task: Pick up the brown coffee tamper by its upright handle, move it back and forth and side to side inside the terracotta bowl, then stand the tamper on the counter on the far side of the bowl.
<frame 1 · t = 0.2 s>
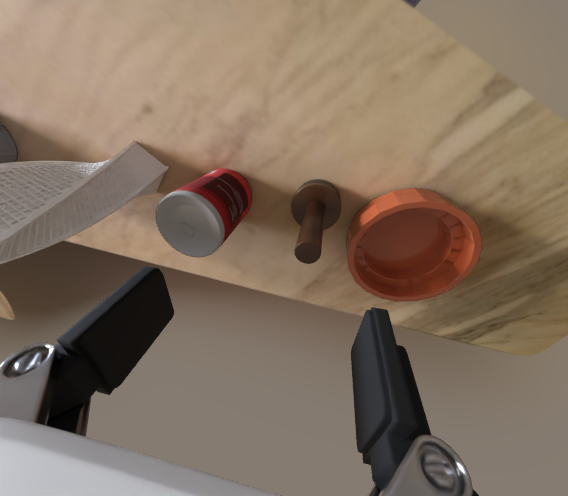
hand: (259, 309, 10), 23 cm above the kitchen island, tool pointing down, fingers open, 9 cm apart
bowl: (399, 238, 32), on the kitchen island
brown coffee tamper: (316, 202, 31), on the kitchen island
skyscraper: (148, 169, 34), on the kitchen island
canned food: (229, 194, 33), on the kitchen island
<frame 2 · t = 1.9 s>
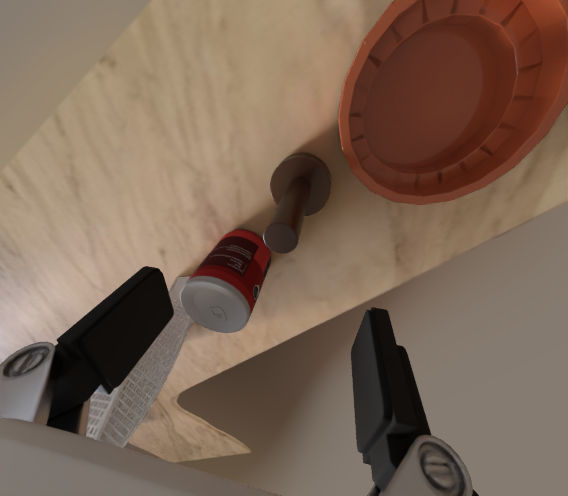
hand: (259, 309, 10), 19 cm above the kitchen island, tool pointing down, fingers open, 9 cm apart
bowl: (421, 106, 20), on the kitchen island
brown coffee tamper: (302, 182, 26), on the kitchen island
skyscraper: (198, 286, 39), on the kitchen island
canned food: (247, 251, 33), on the kitchen island
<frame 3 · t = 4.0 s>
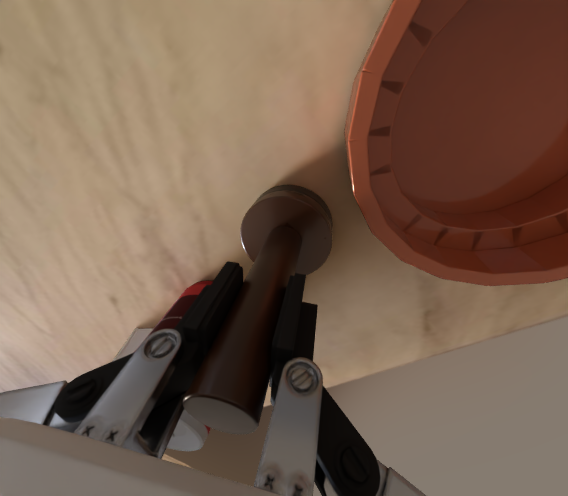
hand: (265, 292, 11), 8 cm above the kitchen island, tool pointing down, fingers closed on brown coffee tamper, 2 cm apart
bowl: (487, 117, 12), on the kitchen island
brown coffee tamper: (290, 225, 17), on the kitchen island, touching gripper
skyscraper: (163, 339, 30), on the kitchen island
canned food: (220, 305, 24), on the kitchen island
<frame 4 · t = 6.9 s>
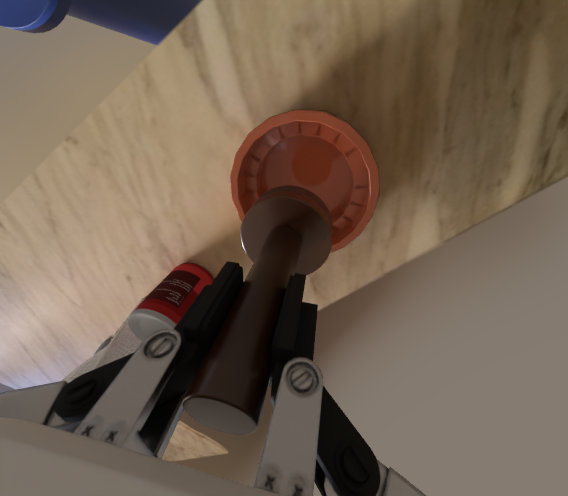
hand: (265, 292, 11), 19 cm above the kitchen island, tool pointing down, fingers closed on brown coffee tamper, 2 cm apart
bowl: (305, 182, 26), on the kitchen island
brown coffee tamper: (290, 225, 17), point 11 cm above the kitchen island, touching gripper
skyscraper: (162, 305, 45), on the kitchen island
canned food: (196, 279, 39), on the kitchen island
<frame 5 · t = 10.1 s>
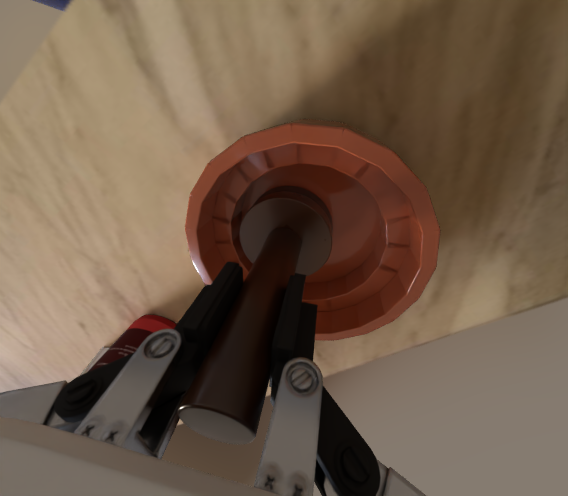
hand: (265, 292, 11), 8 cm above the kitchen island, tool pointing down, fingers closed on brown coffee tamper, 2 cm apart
bowl: (307, 225, 18), on the kitchen island
brown coffee tamper: (290, 226, 17), point 1 cm above the kitchen island, touching gripper
canned food: (165, 332, 30), on the kitchen island
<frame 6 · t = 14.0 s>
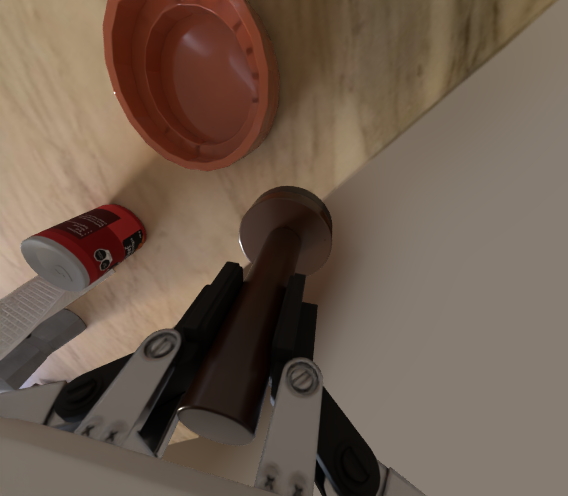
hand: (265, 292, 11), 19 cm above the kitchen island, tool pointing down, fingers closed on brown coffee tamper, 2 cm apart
bowl: (211, 86, 23), on the kitchen island
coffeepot: (69, 316, 55), on the kitchen island
brown coffee tamper: (289, 226, 17), point 11 cm above the kitchen island, touching gripper
skyscraper: (98, 261, 42), on the kitchen island
canned food: (125, 225, 36), on the kitchen island
when the fingers open (7 cm above the kitchen island, at t = 16.7 s): brown coffee tamper stays where it is, on the kitchen island.
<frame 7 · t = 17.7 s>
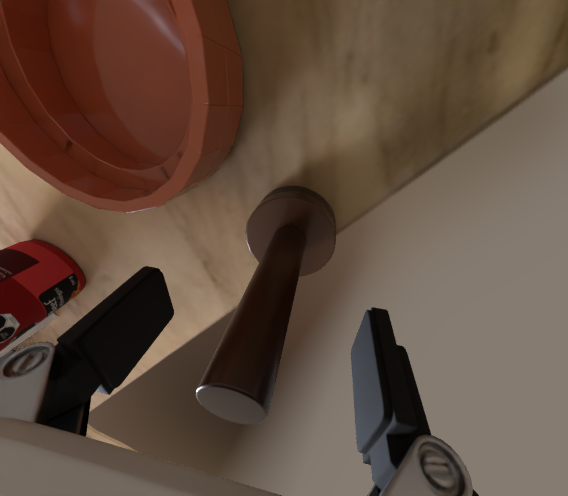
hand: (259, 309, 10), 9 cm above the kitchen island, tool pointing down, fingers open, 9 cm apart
bowl: (137, 76, 14), on the kitchen island
brown coffee tamper: (294, 225, 18), on the kitchen island
skyscraper: (36, 303, 33), on the kitchen island
canned food: (58, 265, 27), on the kitchen island
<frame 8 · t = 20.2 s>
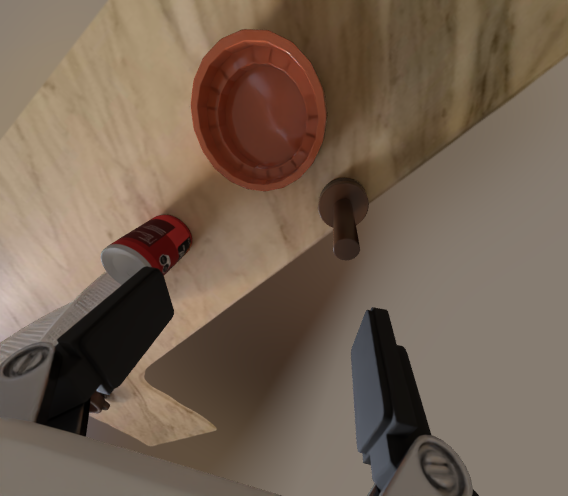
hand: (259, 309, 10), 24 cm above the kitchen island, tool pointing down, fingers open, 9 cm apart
bowl: (267, 120, 28), on the kitchen island
brown coffee tamper: (342, 200, 31), on the kitchen island
skyscraper: (143, 264, 47), on the kitchen island
canned food: (174, 233, 41), on the kitchen island
dish: (89, 389, 93), on the kitchen island
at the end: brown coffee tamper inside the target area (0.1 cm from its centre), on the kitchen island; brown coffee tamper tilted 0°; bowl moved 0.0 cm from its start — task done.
